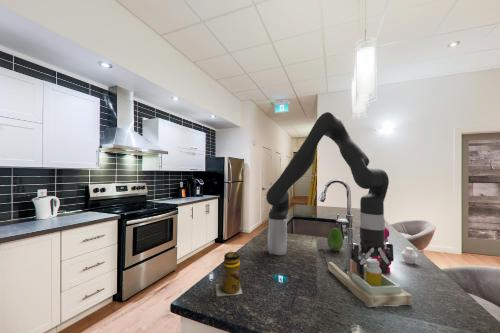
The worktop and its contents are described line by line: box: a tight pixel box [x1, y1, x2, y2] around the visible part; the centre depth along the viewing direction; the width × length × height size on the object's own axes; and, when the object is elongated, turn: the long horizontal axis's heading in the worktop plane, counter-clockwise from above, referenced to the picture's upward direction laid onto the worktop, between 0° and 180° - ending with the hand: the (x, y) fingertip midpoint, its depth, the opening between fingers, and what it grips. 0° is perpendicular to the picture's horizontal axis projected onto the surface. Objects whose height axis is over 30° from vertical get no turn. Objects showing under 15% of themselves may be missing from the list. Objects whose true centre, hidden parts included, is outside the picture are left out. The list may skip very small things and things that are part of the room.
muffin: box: [401, 246, 419, 265], centre depth 95 cm, size 6×6×7 cm
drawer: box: [349, 259, 402, 294], centre depth 70 cm, size 10×11×9 cm
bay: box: [327, 261, 412, 307], centre depth 76 cm, size 14×25×3 cm, turn 6°
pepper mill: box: [370, 227, 392, 275], centre depth 87 cm, size 7×7×20 cm
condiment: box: [215, 251, 243, 298], centre depth 72 cm, size 7×8×12 cm
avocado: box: [326, 227, 344, 252], centre depth 109 cm, size 8×8×12 cm
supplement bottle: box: [364, 257, 383, 287], centre depth 71 cm, size 5×5×10 cm
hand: (372, 273), depth 71 cm, fingers open, 8 cm apart
